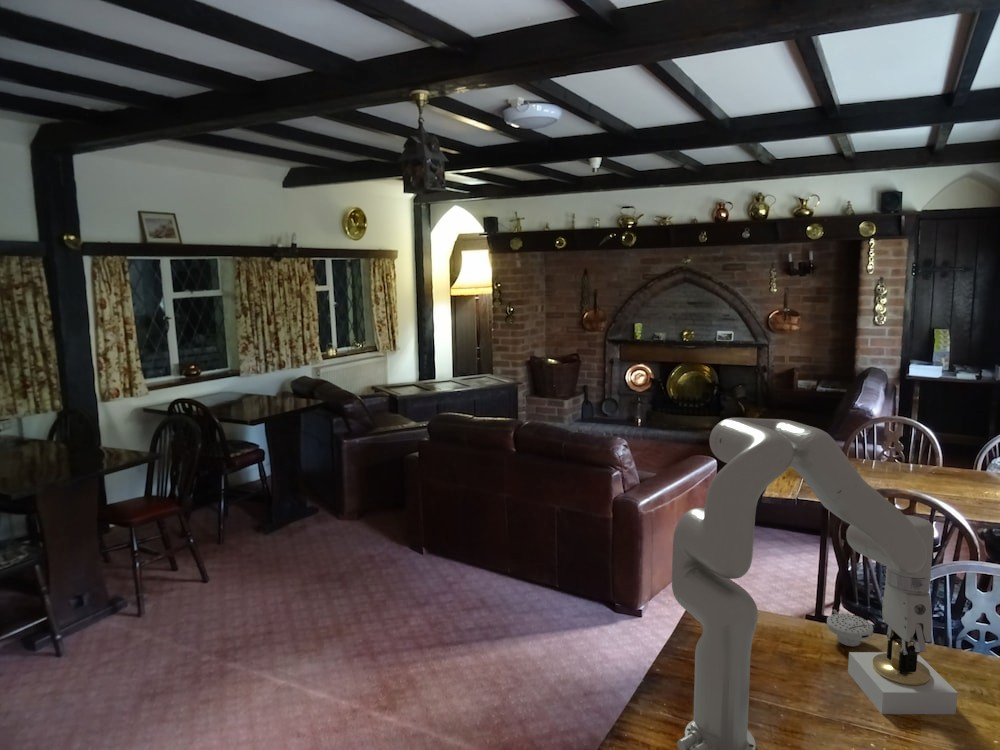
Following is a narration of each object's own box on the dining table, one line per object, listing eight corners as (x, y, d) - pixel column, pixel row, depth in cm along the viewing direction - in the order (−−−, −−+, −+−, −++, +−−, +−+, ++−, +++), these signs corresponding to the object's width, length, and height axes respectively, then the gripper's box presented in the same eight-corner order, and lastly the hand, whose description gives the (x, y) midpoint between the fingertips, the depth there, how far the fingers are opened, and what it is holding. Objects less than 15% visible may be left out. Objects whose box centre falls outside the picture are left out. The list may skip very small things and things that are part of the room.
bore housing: (881, 720, 134) (883, 692, 133) (847, 678, 147) (849, 652, 146) (955, 721, 133) (957, 692, 132) (914, 678, 147) (916, 652, 146)
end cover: (886, 707, 135) (890, 657, 134) (861, 677, 145) (865, 630, 143) (939, 707, 135) (943, 657, 133) (910, 677, 145) (914, 630, 143)
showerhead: (849, 605, 164) (883, 626, 154) (848, 634, 165) (881, 656, 155) (816, 611, 161) (848, 632, 152) (814, 640, 162) (846, 663, 153)
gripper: (953, 598, 128) (945, 690, 131) (904, 561, 144) (897, 643, 147) (911, 599, 128) (904, 689, 131) (867, 561, 145) (862, 643, 147)
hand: (901, 664), depth 139 cm, fingers closed on end cover, 3 cm apart
